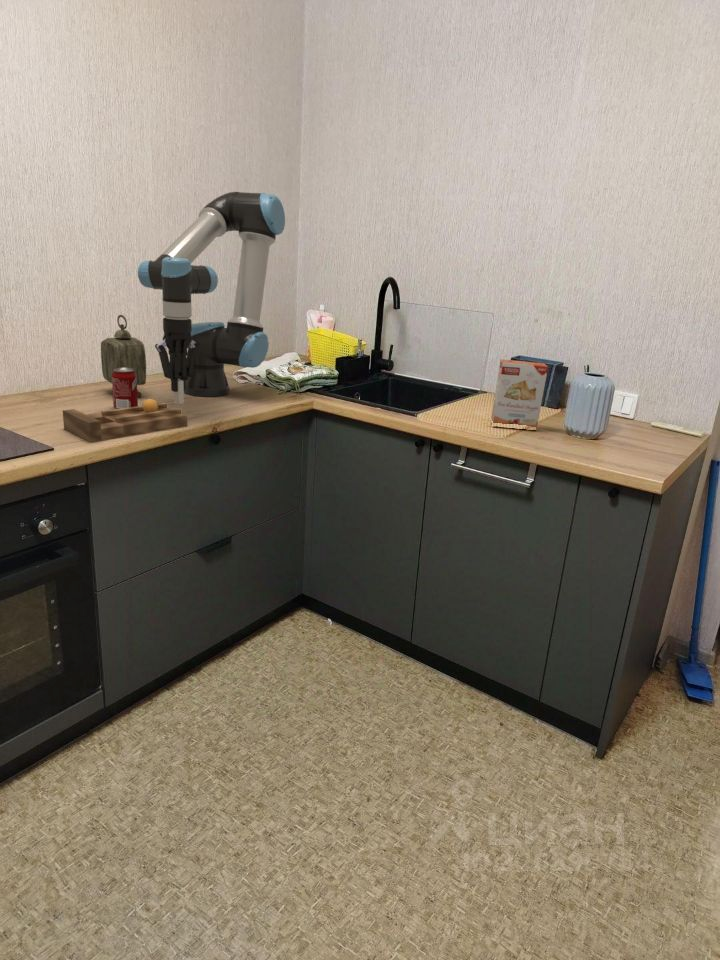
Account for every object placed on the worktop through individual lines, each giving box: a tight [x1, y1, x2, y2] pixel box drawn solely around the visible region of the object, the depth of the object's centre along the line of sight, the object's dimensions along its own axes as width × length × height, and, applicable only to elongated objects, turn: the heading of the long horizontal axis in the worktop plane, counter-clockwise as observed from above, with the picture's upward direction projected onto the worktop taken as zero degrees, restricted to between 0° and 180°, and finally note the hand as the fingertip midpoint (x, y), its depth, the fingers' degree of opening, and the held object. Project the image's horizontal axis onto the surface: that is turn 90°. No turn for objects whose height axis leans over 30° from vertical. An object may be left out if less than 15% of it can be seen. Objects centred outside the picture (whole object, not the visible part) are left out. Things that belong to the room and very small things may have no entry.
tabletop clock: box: [100, 314, 147, 398], centre depth 205 cm, size 14×9×25 cm, turn 40°
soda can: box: [111, 368, 139, 410], centre depth 190 cm, size 7×7×12 cm
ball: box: [142, 398, 159, 413], centre depth 179 cm, size 4×4×4 cm
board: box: [62, 402, 188, 443], centre depth 174 cm, size 28×14×5 cm, turn 138°
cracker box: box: [490, 359, 549, 428], centre depth 204 cm, size 14×6×21 cm, turn 86°
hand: (178, 402), depth 185 cm, fingers closed
